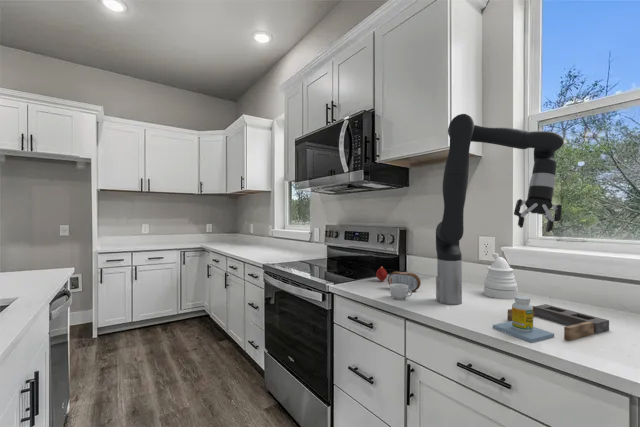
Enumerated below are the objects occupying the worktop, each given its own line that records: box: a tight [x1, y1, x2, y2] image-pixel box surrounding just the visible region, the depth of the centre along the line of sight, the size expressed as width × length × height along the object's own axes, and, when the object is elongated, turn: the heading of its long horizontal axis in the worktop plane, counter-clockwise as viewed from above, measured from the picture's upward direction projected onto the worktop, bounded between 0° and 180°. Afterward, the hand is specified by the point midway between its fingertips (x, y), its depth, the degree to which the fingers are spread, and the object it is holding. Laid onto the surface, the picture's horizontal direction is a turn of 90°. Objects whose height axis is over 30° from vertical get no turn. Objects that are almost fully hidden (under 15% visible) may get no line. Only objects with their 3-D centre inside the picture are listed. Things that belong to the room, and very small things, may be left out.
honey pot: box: [483, 252, 519, 300], centre depth 136 cm, size 13×13×18 cm
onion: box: [375, 266, 388, 282], centre depth 164 cm, size 6×6×8 cm
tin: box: [387, 270, 422, 293], centre depth 145 cm, size 15×3×8 cm, turn 58°
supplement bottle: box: [511, 295, 534, 332], centre depth 94 cm, size 5×5×10 cm
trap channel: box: [507, 303, 610, 342], centre depth 100 cm, size 20×18×4 cm
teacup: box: [389, 284, 413, 301], centre depth 131 cm, size 10×8×5 cm
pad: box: [492, 321, 555, 344], centre depth 93 cm, size 10×12×1 cm
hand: (534, 229), depth 115 cm, fingers open, 8 cm apart
